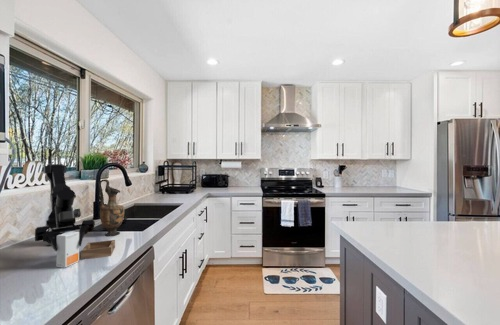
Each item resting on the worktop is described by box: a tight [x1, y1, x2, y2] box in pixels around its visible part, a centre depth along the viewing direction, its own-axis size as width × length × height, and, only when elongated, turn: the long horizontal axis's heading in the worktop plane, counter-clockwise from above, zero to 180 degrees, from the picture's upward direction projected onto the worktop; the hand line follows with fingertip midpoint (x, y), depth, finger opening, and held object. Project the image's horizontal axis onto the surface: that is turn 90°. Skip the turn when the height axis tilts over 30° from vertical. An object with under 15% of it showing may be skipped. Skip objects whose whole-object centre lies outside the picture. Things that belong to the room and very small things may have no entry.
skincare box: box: [55, 230, 80, 269], centre depth 93 cm, size 6×4×12 cm
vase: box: [97, 179, 125, 237], centre depth 131 cm, size 12×12×30 cm
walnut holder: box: [80, 239, 116, 261], centre depth 104 cm, size 11×11×4 cm
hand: (68, 248), depth 92 cm, fingers closed on skincare box, 7 cm apart
